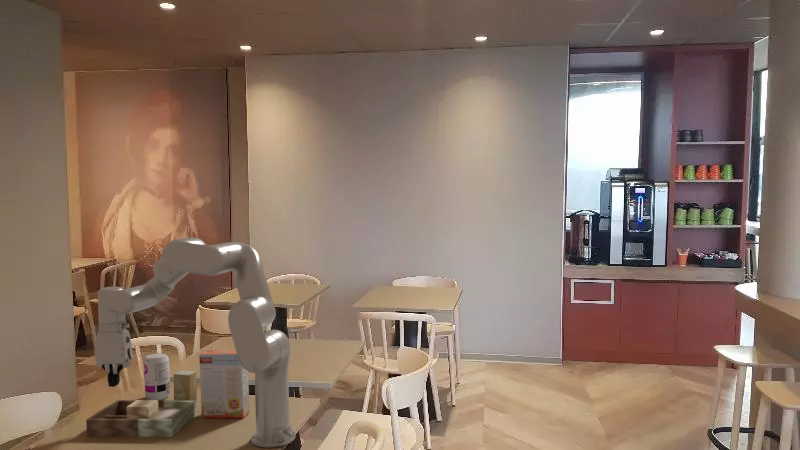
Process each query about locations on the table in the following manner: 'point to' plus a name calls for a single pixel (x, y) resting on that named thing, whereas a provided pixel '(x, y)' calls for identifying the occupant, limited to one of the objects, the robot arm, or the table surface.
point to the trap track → (141, 420)
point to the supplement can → (157, 376)
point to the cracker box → (223, 385)
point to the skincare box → (185, 386)
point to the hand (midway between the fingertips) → (113, 385)
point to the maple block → (142, 409)
